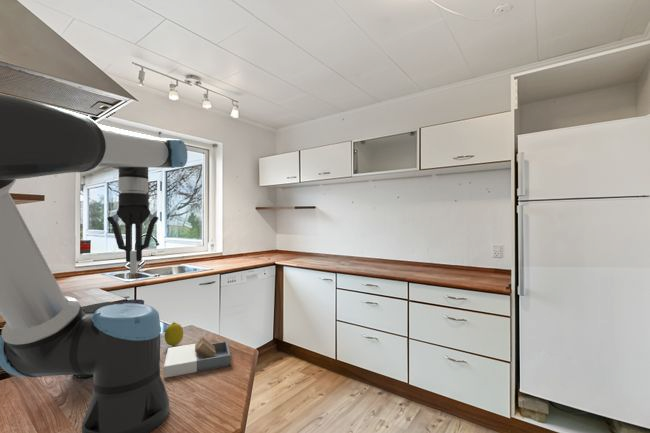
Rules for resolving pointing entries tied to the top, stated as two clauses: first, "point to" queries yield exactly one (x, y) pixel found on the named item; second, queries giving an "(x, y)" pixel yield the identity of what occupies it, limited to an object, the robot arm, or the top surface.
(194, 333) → the top surface
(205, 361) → the tray
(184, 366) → the board
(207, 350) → the brown wooden block
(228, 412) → the top surface
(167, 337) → the lemon
